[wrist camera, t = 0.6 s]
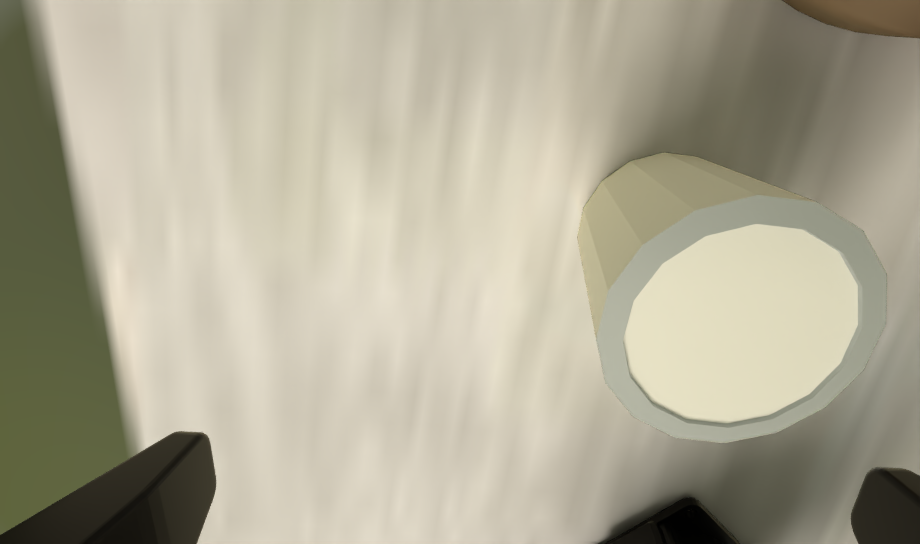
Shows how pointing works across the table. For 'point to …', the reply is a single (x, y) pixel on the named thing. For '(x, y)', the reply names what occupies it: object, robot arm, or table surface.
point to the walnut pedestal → (865, 15)
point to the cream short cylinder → (725, 298)
